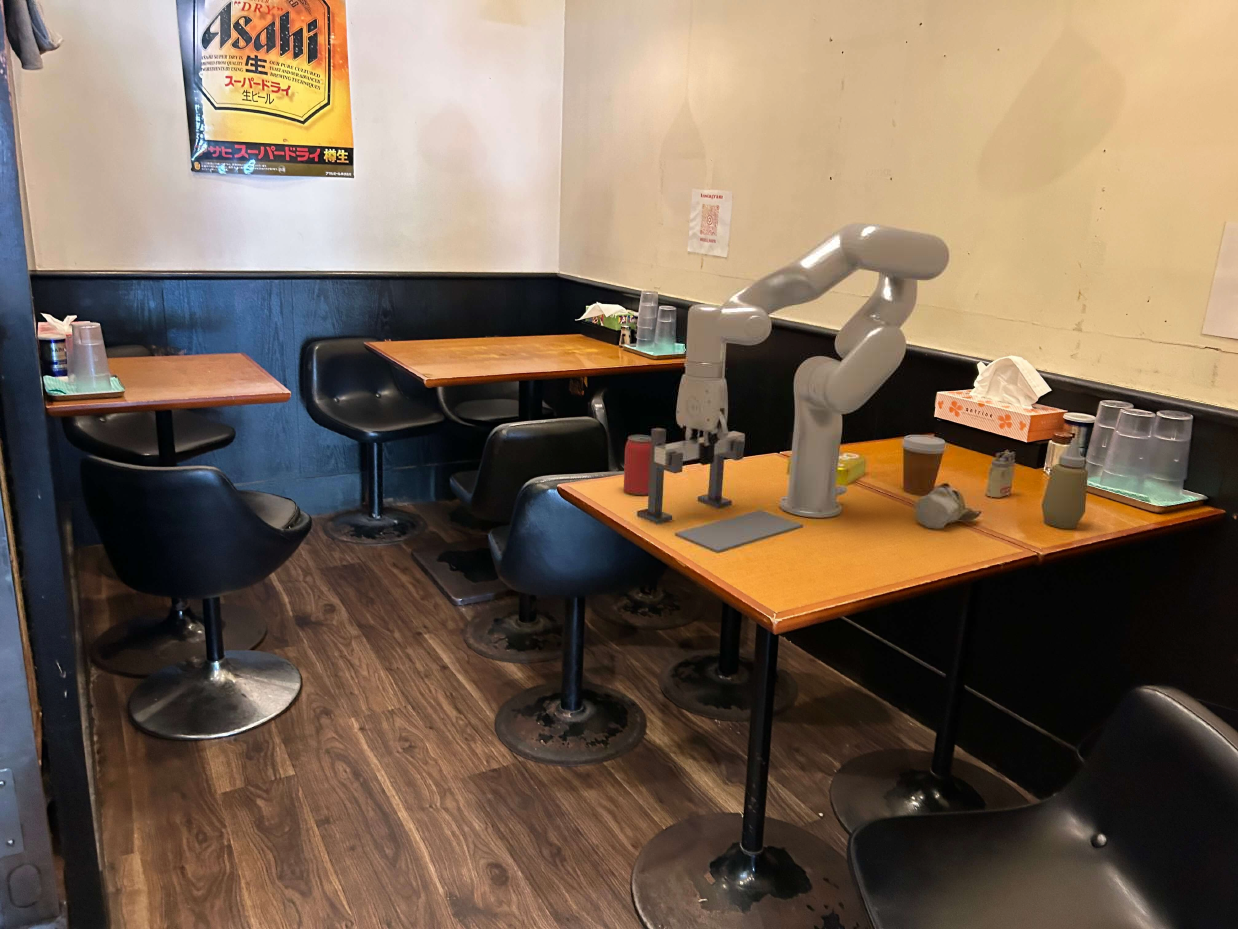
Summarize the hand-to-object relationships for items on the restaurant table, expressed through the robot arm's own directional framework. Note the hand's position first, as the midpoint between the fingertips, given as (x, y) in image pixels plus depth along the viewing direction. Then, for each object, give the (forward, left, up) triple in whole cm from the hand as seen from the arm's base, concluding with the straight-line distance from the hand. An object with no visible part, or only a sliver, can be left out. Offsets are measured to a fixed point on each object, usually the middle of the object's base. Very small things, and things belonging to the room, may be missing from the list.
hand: (700, 460), depth 175 cm
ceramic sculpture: (-38, +32, -12) cm, 51 cm away
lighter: (-66, +29, -11) cm, 73 cm away
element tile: (-47, -4, -12) cm, 49 cm away
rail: (0, 0, +1) cm, 1 cm away
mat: (0, +12, -11) cm, 16 cm away
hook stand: (0, -2, -11) cm, 11 cm away
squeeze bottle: (-57, +47, -11) cm, 75 cm away
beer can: (0, -18, -11) cm, 21 cm away
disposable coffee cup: (-53, +17, -11) cm, 57 cm away
